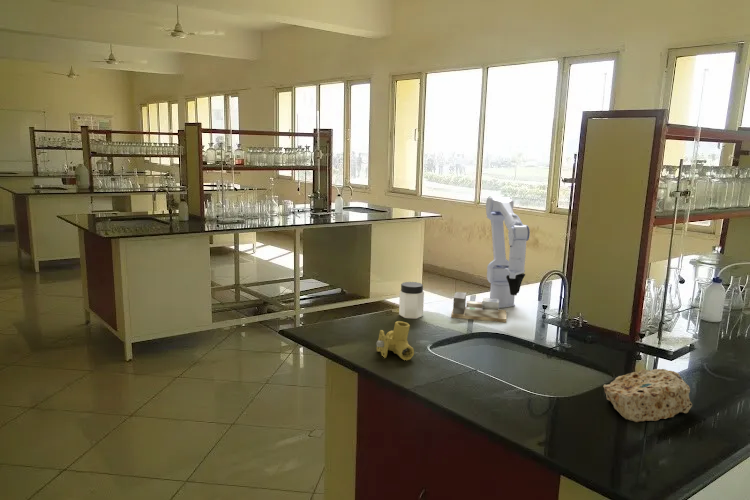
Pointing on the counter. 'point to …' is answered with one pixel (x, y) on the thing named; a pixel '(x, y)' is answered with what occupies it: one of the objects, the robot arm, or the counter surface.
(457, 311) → the stand
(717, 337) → the counter surface
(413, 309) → the jar
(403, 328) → the ball valve
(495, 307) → the grey box
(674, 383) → the rock
